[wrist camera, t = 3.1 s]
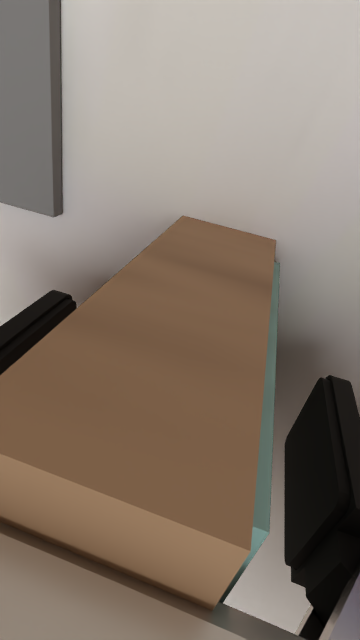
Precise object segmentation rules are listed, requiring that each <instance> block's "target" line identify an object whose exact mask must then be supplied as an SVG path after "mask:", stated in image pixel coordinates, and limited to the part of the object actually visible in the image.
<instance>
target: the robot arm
mask: <svg viewBox="0 0 360 640" xmlns="http://www.w3.org/2000/svg"><path fill="white" fill-rule="evenodd" d="M75 310H76V302H75V301H73V300H72V296H71V295H69V294H66V293H62V292H59V291H56V290H52V291H50V292H49V293H47V294H46V295H44V296H43V297H41V298H40V299H39V300H37V301H36V302H34V303H33V304H32V305H30V306H29V307H27V308H26V309H24V310H23V311H22V312H20V313H19V314H17V315H16V316H15V317H13V318H12V319H10V320H9V321H7V322H6V323H5V324H3V325H2V326H0V375H1V374H2V373H4V372H5V371H6V370H7V369H8V368H9V367H10V366H12V365H13V364H14V363H15V362H16V361H17V360H18V359H20V358H21V357H22V356H23V355H24V354H25V353H27V352H28V351H29V350H30V349H31V348H32V347H33V346H35V345H36V344H37V343H38V342H39V341H40V340H41V339H43V338H44V337H45V336H46V335H47V334H48V333H49V332H51V331H52V330H53V329H54V328H55V327H56V326H57V325H59V324H60V323H61V322H62V321H63V320H64V319H65V318H67V317H68V316H69V315H70V314H71V313H72V312H73V311H75ZM285 563H286V565H288V566H291V582H293V583H296V584H298V585H301V586H303V587H306V597H307V599H308V600H309V602H310V603H311V605H310V607H309V609H308V610H307V612H306V614H305V616H304V618H303V619H302V621H301V623H300V625H299V627H298V628H297V630H296V632H295V634H293V633H290V632H288V631H286V630H284V629H281V628H279V627H277V626H274V625H272V624H270V623H268V622H265V621H263V620H261V619H258V618H256V617H254V616H251V615H249V614H246V613H244V612H242V611H239V610H237V609H235V608H232V607H230V606H227V605H225V604H223V603H220V602H218V603H217V605H216V606H215V608H214V609H213V611H211V610H209V609H206V608H204V607H202V606H199V605H197V604H194V603H192V602H190V601H187V600H185V599H183V598H180V597H178V596H175V595H173V594H171V593H168V592H166V591H164V590H161V589H159V588H156V587H154V586H152V585H149V584H147V583H144V582H142V581H140V580H137V579H135V578H133V577H130V576H128V575H125V574H123V573H121V572H118V571H116V570H113V569H111V568H109V567H106V566H104V565H102V564H99V563H97V562H94V561H92V560H90V559H87V558H85V557H82V556H80V555H78V554H75V553H73V552H71V551H68V550H66V549H63V548H61V547H59V546H56V545H54V544H51V543H49V542H47V541H44V540H42V539H40V538H37V537H35V536H32V535H30V534H28V533H25V532H23V531H20V530H18V529H16V528H13V527H11V526H9V525H6V524H4V523H1V522H0V640H360V417H359V413H358V409H357V405H356V401H355V397H354V393H353V389H352V385H351V383H350V382H349V381H347V380H344V379H340V378H337V377H334V376H331V375H329V376H327V377H326V379H324V378H320V379H319V380H318V381H317V383H316V385H315V387H314V388H313V390H312V392H311V394H310V396H309V398H308V399H307V401H306V403H305V405H304V407H303V409H302V410H301V412H300V414H299V416H298V418H297V419H296V421H295V423H294V425H293V427H292V429H291V430H290V432H289V434H288V436H287V438H286V442H285Z"/></svg>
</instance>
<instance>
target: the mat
mask: <svg viewBox="0 0 360 640" xmlns="http://www.w3.org/2000/svg"><path fill="white" fill-rule="evenodd" d="M0 202H1V203H4V204H8V205H11V206H15V207H19V208H22V209H26V210H29V211H33V212H37V213H40V214H44V215H47V216H51V217H56V216H58V215H61V214H62V169H61V60H60V0H0Z"/></svg>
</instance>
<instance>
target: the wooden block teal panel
mask: <svg viewBox="0 0 360 640" xmlns="http://www.w3.org/2000/svg"><path fill="white" fill-rule="evenodd" d="M275 246H276V240H273V239H270V238H266V237H262V236H258V235H255V234H251V233H247V232H243V231H239V230H236V229H232V228H228V227H224V226H220V225H217V224H213V223H209V222H205V221H201V220H198V219H194V218H190V217H186V216H182V217H181V218H180V219H179V220H178V221H176V222H175V223H174V224H173V225H172V226H171V227H170V228H168V229H167V230H166V231H165V232H164V233H163V234H161V235H160V236H159V237H158V238H157V239H156V240H155V241H153V242H152V243H151V244H150V245H149V246H148V247H147V248H145V249H144V250H143V251H142V252H141V253H140V254H139V255H137V256H136V257H135V258H134V259H133V260H132V261H131V262H129V263H128V264H127V265H126V266H125V267H124V268H123V269H121V270H120V271H119V272H118V273H117V274H116V275H115V276H113V277H112V278H111V279H110V280H109V281H108V282H107V283H105V284H104V285H103V286H102V287H101V288H100V289H99V290H97V291H96V292H95V293H94V294H93V295H92V296H91V297H89V298H88V299H87V300H86V301H85V302H84V303H83V304H81V305H80V306H79V307H78V308H77V309H76V310H75V311H73V312H72V313H71V314H70V315H69V316H68V317H67V318H65V319H64V320H63V321H62V322H61V323H60V324H59V325H57V326H56V327H55V328H54V329H53V330H52V331H51V332H49V333H48V334H47V335H46V336H45V337H44V338H43V339H41V340H40V341H39V342H38V343H37V344H36V345H35V346H33V347H32V348H31V349H30V350H29V351H28V352H27V353H25V354H24V355H23V356H22V357H21V358H20V359H18V360H17V361H16V362H15V363H14V364H13V365H12V366H10V367H9V368H8V369H7V370H6V371H5V372H4V373H2V374H1V375H0V522H1V523H4V524H6V525H9V526H11V527H13V528H16V529H18V530H20V531H23V532H25V533H28V534H30V535H32V536H35V537H37V538H40V539H42V540H44V541H47V542H49V543H51V544H54V545H56V546H59V547H61V548H63V549H66V550H68V551H71V552H73V553H75V554H78V555H80V556H82V557H85V558H87V559H90V560H92V561H94V562H97V563H99V564H102V565H104V566H106V567H109V568H111V569H113V570H116V571H118V572H121V573H123V574H125V575H128V576H130V577H133V578H135V579H137V580H140V581H142V582H144V583H147V584H149V585H152V586H154V587H156V588H159V589H161V590H164V591H166V592H168V593H171V594H173V595H175V596H178V597H180V598H183V599H185V600H187V601H190V602H192V603H194V604H197V605H199V606H202V607H204V608H206V609H209V610H211V611H213V609H214V608H215V606H216V605H217V603H218V602H220V603H223V602H224V600H225V599H226V597H227V596H228V594H229V593H230V591H231V590H232V588H233V587H234V585H235V584H236V582H237V581H238V579H239V578H240V576H241V575H242V573H243V572H244V570H245V569H246V567H247V566H248V564H249V563H250V561H251V560H252V558H253V557H254V555H255V554H256V552H257V551H258V549H259V548H260V546H261V545H262V543H263V542H264V540H265V539H266V537H267V535H268V534H269V529H270V503H271V478H272V452H273V427H274V401H275V376H276V350H277V325H278V299H279V273H280V263H278V262H274V258H275Z"/></svg>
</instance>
